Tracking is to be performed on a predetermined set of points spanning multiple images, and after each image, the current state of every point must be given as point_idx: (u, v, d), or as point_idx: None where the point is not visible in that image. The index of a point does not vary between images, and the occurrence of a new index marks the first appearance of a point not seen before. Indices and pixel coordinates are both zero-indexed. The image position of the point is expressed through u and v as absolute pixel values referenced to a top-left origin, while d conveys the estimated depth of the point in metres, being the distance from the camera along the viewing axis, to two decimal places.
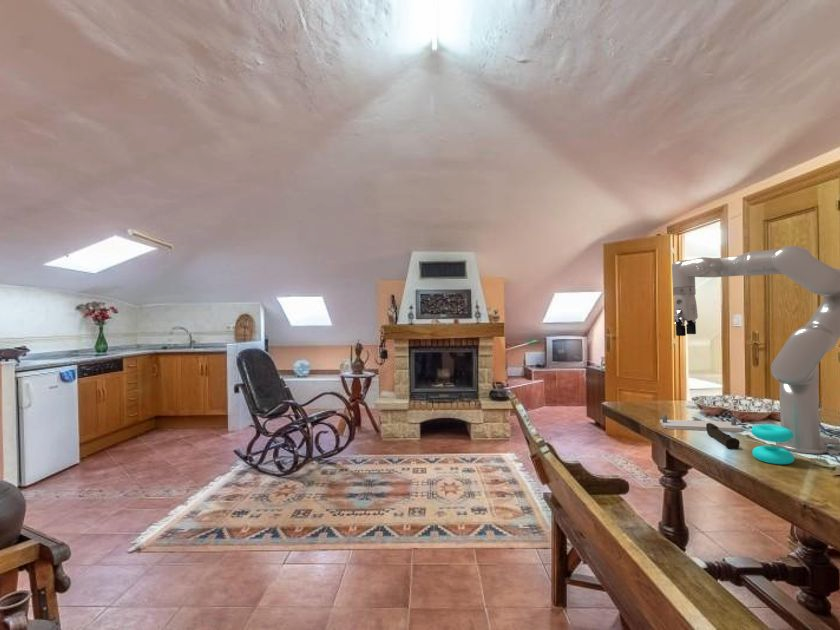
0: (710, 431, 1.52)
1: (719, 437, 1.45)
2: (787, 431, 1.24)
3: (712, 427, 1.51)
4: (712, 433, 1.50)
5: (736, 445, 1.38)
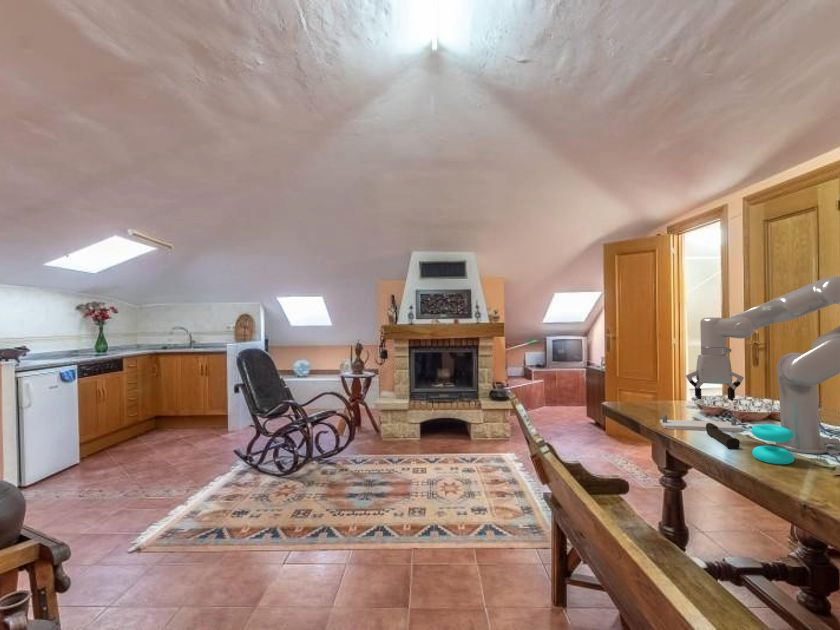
0: (710, 431, 1.52)
1: (719, 437, 1.45)
2: (787, 431, 1.24)
3: (712, 427, 1.51)
4: (712, 432, 1.50)
5: (736, 445, 1.38)
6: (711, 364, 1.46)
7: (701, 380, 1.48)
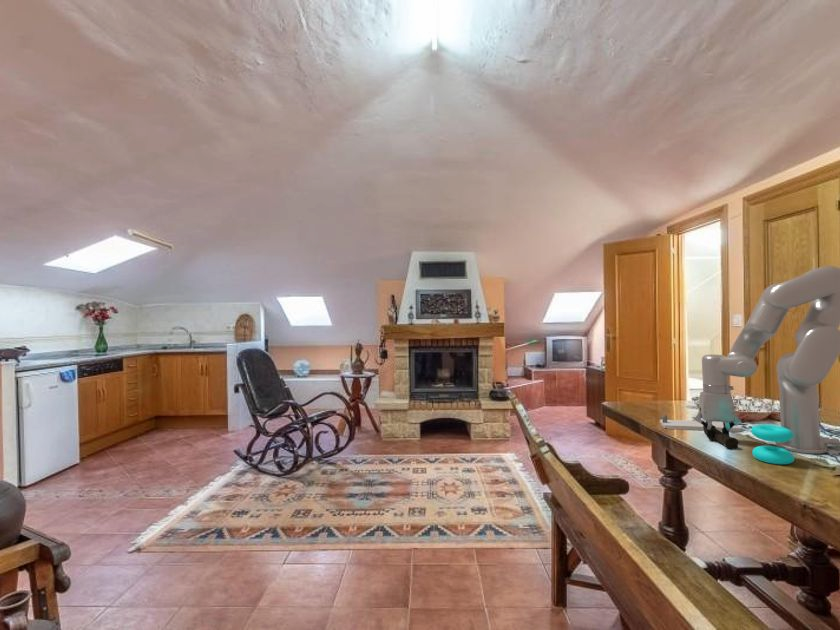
0: None
1: (717, 437, 1.45)
2: (787, 431, 1.24)
3: None
4: None
5: (735, 445, 1.38)
6: (714, 402, 1.46)
7: (704, 418, 1.47)
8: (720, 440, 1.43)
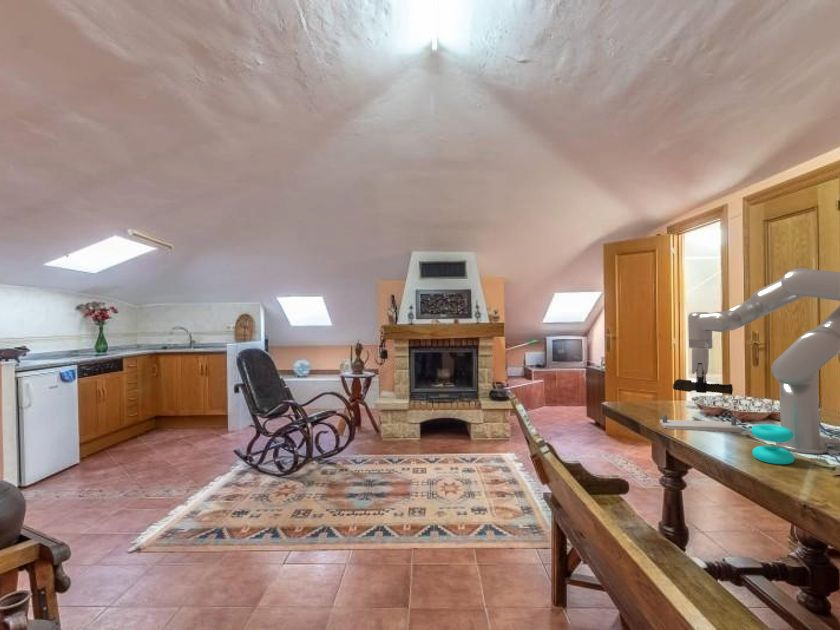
0: (689, 386, 1.60)
1: (712, 387, 1.56)
2: (787, 431, 1.24)
3: (690, 381, 1.60)
4: (695, 386, 1.59)
5: None
6: (708, 356, 1.56)
7: (706, 372, 1.54)
8: (717, 389, 1.55)
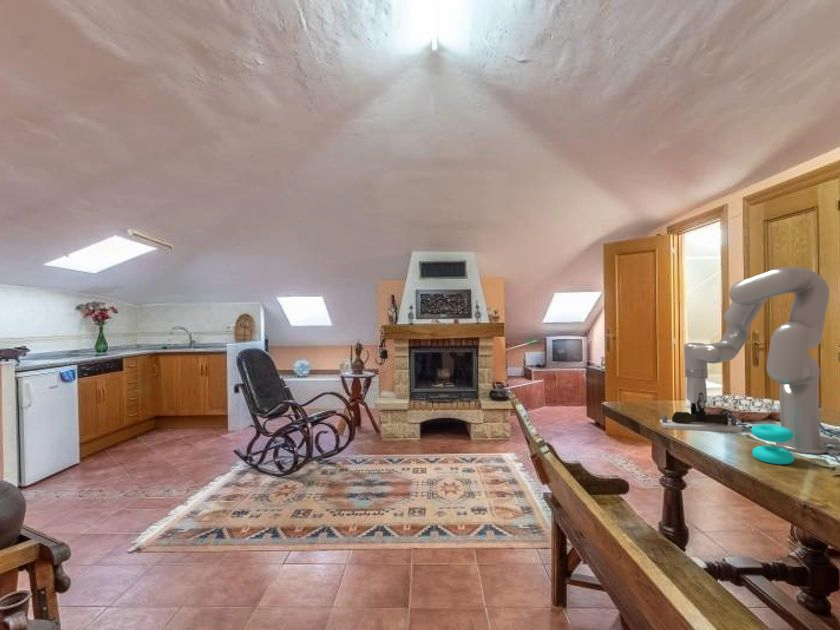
0: (689, 418, 1.64)
1: (710, 419, 1.62)
2: (787, 431, 1.24)
3: (689, 413, 1.64)
4: (694, 418, 1.63)
5: None
6: None
7: (706, 401, 1.59)
8: (715, 420, 1.61)
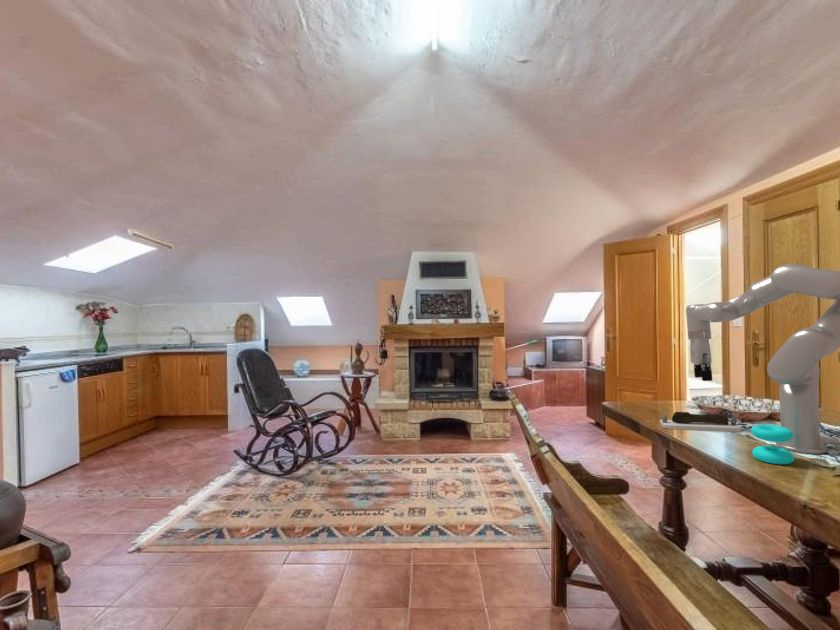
0: (689, 418, 1.64)
1: (710, 419, 1.62)
2: (787, 431, 1.24)
3: (689, 413, 1.64)
4: (694, 418, 1.63)
5: None
6: None
7: None
8: (715, 420, 1.61)
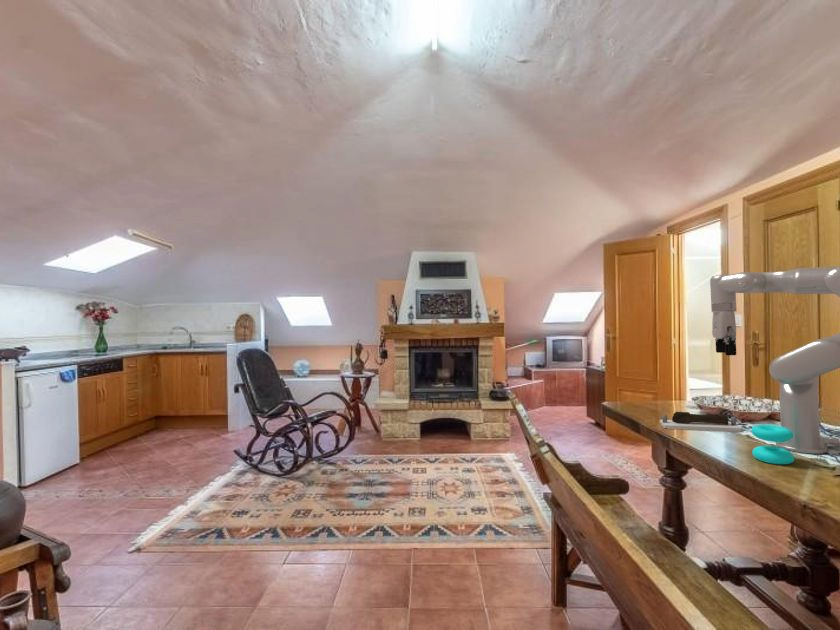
0: (689, 418, 1.64)
1: (710, 419, 1.62)
2: (787, 431, 1.24)
3: (689, 413, 1.65)
4: (694, 418, 1.64)
5: None
6: None
7: None
8: (715, 420, 1.61)
